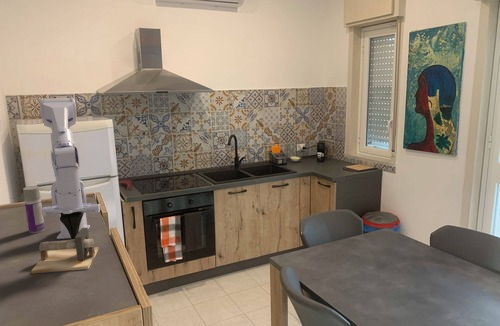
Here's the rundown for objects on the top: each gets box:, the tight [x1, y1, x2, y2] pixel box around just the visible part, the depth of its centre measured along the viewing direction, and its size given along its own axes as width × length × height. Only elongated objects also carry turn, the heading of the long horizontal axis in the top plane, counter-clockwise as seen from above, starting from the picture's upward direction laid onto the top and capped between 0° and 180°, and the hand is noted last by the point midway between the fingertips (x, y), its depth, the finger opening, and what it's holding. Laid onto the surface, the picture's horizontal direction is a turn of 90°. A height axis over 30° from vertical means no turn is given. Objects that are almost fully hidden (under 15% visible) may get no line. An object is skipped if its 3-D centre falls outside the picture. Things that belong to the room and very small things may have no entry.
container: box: [22, 185, 46, 234], centre depth 122 cm, size 5×5×15 cm
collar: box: [74, 228, 90, 261], centre depth 103 cm, size 7×2×7 cm, turn 9°
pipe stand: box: [31, 238, 100, 275], centre depth 102 cm, size 12×14×6 cm
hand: (74, 237), depth 102 cm, fingers closed
